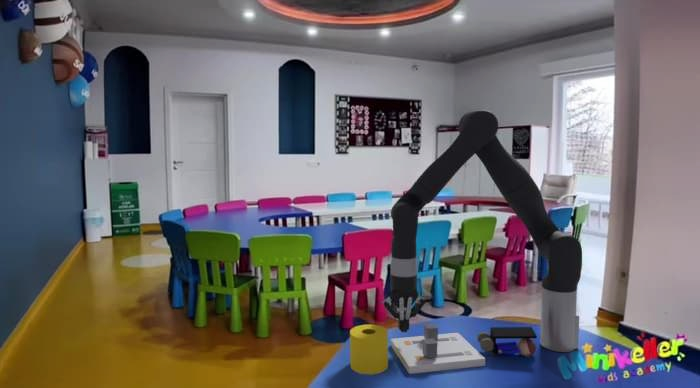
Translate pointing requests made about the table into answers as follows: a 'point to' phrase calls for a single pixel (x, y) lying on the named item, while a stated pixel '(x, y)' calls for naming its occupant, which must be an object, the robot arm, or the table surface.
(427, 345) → the on handle
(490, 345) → the black toy car
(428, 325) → the handle
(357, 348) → the tape roll
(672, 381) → the table surface
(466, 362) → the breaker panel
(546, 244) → the robot arm
